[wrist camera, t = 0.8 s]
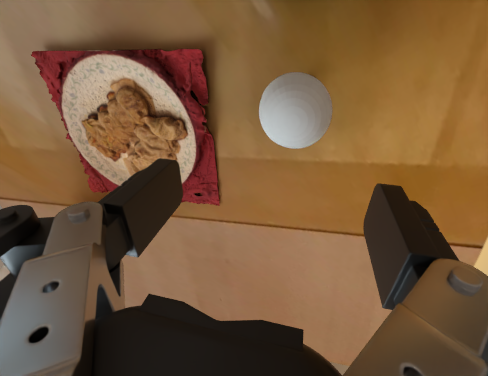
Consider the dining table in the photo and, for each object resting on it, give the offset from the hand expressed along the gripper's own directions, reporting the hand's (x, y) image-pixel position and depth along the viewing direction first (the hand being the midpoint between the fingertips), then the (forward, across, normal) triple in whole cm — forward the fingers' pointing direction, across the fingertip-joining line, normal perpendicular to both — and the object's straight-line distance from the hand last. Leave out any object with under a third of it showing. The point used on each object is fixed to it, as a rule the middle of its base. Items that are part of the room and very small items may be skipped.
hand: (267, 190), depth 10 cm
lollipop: (+25, 0, 0) cm, 25 cm away
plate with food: (+25, +24, +8) cm, 36 cm away
